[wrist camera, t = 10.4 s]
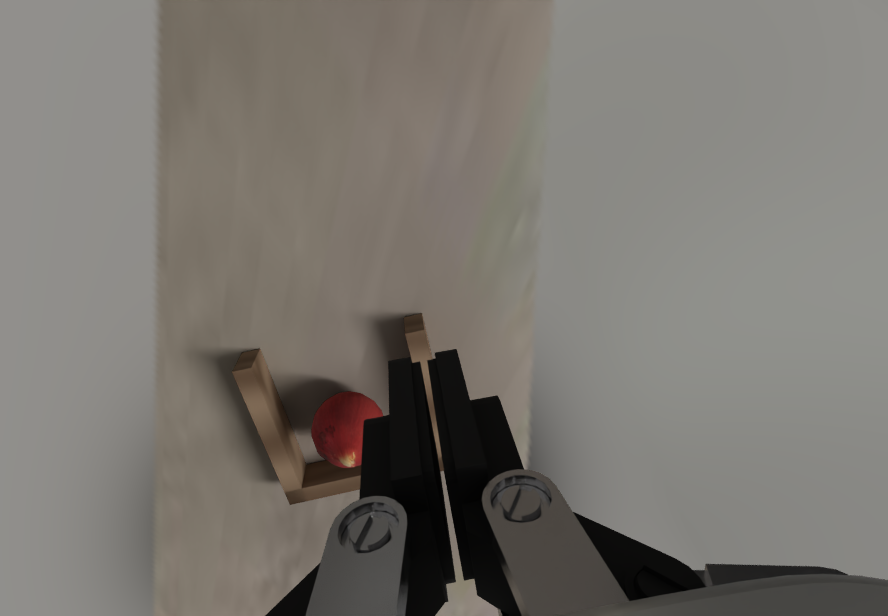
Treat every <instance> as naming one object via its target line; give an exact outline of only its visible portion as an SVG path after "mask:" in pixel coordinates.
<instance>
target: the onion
mask: <svg viewBox="0 0 888 616" xmlns="http://www.w3.org/2000/svg"><path fill="white" fill-rule="evenodd" d="M381 416H383V414H382V410H381V409H380V408H379V407H378V405H377V404H376V403H375V402H374V401H373V400H372V399H370V398H368V397H367V396H365V395H363V394H361V393H357V392H351V391H348V392H341V393H338V394H336V395H334V396H332V397H330V398H329V399H327V400H326V401H324V403H323V404H322V405H321V406H320V407H319V409H318V410H317V412H316V414H315V416H314V419H313V424H312V429H311V432H312V438H313V441H314V444H315V447H316V449H317V452H318V454H319V455H320V456H321V457H323V458H324V459H326V460H327V461H329V462H330V463H332V464H333V465H335V466H338V467H341V468H352V467H356V466H359V465H361V461H362V442H363V424H364V420H365V419H370V418H376V417H381Z"/></svg>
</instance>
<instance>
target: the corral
mask: <svg viewBox="0 0 888 616" xmlns="http://www.w3.org/2000/svg"><path fill="white" fill-rule="evenodd" d="M404 325H405V336H406V339H407V343H408V347H409V351H410V355H411V359H412V363H414V362H419V361H420V363H421V368H422V373H423V379H424V384H425V389H426V395H427V400H428V405H429V411H430V416H431V421H432V427H433V432H434V437H435V442H436V448H437V454H438V460H439V467H440V471H444V468H443V462H442V455H441V448H440V442H439V435H438V429H437V422H436V416H435V409H434V402H433V396H432V389H431V383H430V376H429V369H428V363H427V360H431V359H432V354H431V350H430V346H429V342H428V337H427V333H426V329H425V325H424V320H423V316H422V313H421V314H416V315H412V316H407V317H404ZM232 373H233V376H234V378H235V380H236V382H237V385H238V387H239V389H240V392H241V394H242V396H243V398H244V401H245V403H246V405H247V407H248V410H249V412H250V414H251V417H252V419H253V421H254V423H255V426H256V428H257V430H258V433H259V435H260V437H261V439H262V442H263V444H264V446H265V449H266V451H267V453H268V455H269V458H270V460H271V462H272V465H273V467H274V469H275V471H276V474H277V476H278V478H279V481H280V483H281V485H282V487H283V490H284V492H285V494H286V497H287V499H288V501H289V503H290V505H291V504H296V503H300V502H305V501H309V500H314V499H318V498H323V497H327V496H332V495H336V494H341V493H345V492H350V491H354V490H359V489H360V480H361V465H359V466H356V467H352V468H341V467H338V466H335V465H333V464H332V463H330V462H329V461H327V460H325V461H321V462H316V463H312V464H307V465H306V462H305V460H304V457H303V455H302V452H301V450H300V447H299V445H298V442H297V440H296V437H295V435H294V432H293V430H292V427H291V425H290V422H289V420H288V417H287V415H286V412H285V410H284V407H283V405H282V402H281V400H280V397H279V395H278V392H277V390H276V387H275V385H274V382H273V380H272V377H271V375H270V372H269V370H268V367H267V365H266V362H265V360H264V357H263V355H262V352H261V350H260V349H257V350H252V351H247V352H243V353H242V354H241V356H240V358H239V359H238V361H237V363H236V365H235V367H234V369H233V371H232Z"/></svg>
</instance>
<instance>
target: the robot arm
mask: <svg viewBox="0 0 888 616" xmlns="http://www.w3.org/2000/svg"><path fill="white" fill-rule="evenodd" d="M435 357H436V359H431V360H427V363H428V369H429V376H430V383H431V389H432V396H433V402H434V409H435V416H436V422H437V429H438V435H439V442H440V448H441V455H442V462H443V468H444V474H445V479H446V485H447V490H448V496H449V501H450V507H451V512H452V518H453V523H454V528H455V534H456V539H457V545H458V550H459V555H460V561H461V566H462V572H463V577H464V580H469V579H475V584H476V590H477V595H478V596H479V597H481V598H482V599H484V600H486V601H487V602H489V603H490V604H492V605H493V606H495V607H496V608H498V613H499V616H888V580H885V579H878V578H872V577H865V576H856V575H848V574H845V573H843V572H841V571H838V570H836V569H830V568H824V567H815V566H813V567H812V566H775V565H773V566H772V565H734V564H733V565H732V564H706V565H705V570H692V569H691V568H690V567H689V566H687V565H685V564H684V563H682V562H680V561H678V560H677V559H675V558H673V557H671V556H669V555H666V554H664V553H662V552H660V551H658V550H656V549H653V548H651V547H649V546H647V545H645V544H642V543H640V542H638V541H636V540H633V539H631V538H629V537H627V536H625V535H623V534H620V533H618V532H616V531H614V530H612V529H610V528H607V527H605V526H603V525H601V524H599V523H596V522H594V521H592V520H589V519H588V518H585V517H583V516H581V515H579V514H577V513H574V512H572V510H571V508H570V507H569V505H568V504H567V502H566V501H565V499H564V498H563V496H562V494H561V493H560V491H559V490H558V488H557V486H556V485H555V484H554V483H553V482H552V481H551V480H550V479H549V478H548V477H546V476H544V475H543V474H541V473H538V472H535V471H532V470H524V468H523V465H522V462H521V459H520V456H519V453H518V451H517V448H516V445H515V442H514V439H513V436H512V433H511V431H510V428H509V425H508V422H507V419H506V416H505V413H504V411H503V408H502V405H501V402H500V399H499V397H498V396H492V397H486V398H481V399H475V400H470V399H469V395H468V391H467V387H466V383H465V380H464V376H463V372H462V368H461V364H460V360H459V357H458V353H457V349H453V350H448V351H442V352H436V353H435ZM388 369H389V415H387V416H381V417H376V418H370V419H365V420H364V424H363V442H362V461H361V480H360V499H359V500H358V501H355V502H353V503H351V504H350V505H349V506H347V507H346V508H345V509H343V510H342V511H341V512H340V514H339V515H338V516H337V517H336V518H335V520H334V522H333V524H332V526H331V528H330V532H329V535H328V539H327V542H326V546H325V549H324V553H323V556H322V560H321V562H320V563H319V564H318V565H317V566H316V567H315V568H314V569H313V570H312V571H311V572H310V573H309V574H308V575H307V576H306V577H305V578H304V579H303V580H302V581H301V582H300V583H299V584H298V585H297V586H296V587H295V588H294V589H292V590H291V591H290V592H289V593H288V594H287V595H286V596H285V597H284V598H283V599H282V600H281V601H280V602H279V603H278V604H277V605H276V606H275V607H274V608H273V609H272V610H271V611H270V612H269V613H268V614H267V615H265V616H435V615H436V614H437V612H438V611H439V610H440V608H441V607H442V606H443V605H444V603H445V602H448V596H447V588H446V584H449V583H454V582H456V580H455V572H454V565H453V558H452V551H451V544H450V537H449V530H448V523H447V516H446V509H445V502H444V495H443V488H442V481H441V474H440V467H439V460H438V454H437V448H436V442H435V437H434V432H433V427H432V421H431V416H430V411H429V405H428V400H427V395H426V389H425V384H424V379H423V373H422V368H421V363H420V361H419V362H414V363H412V361H411V357H408V358H403V359H397V360H391V361H388Z"/></svg>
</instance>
